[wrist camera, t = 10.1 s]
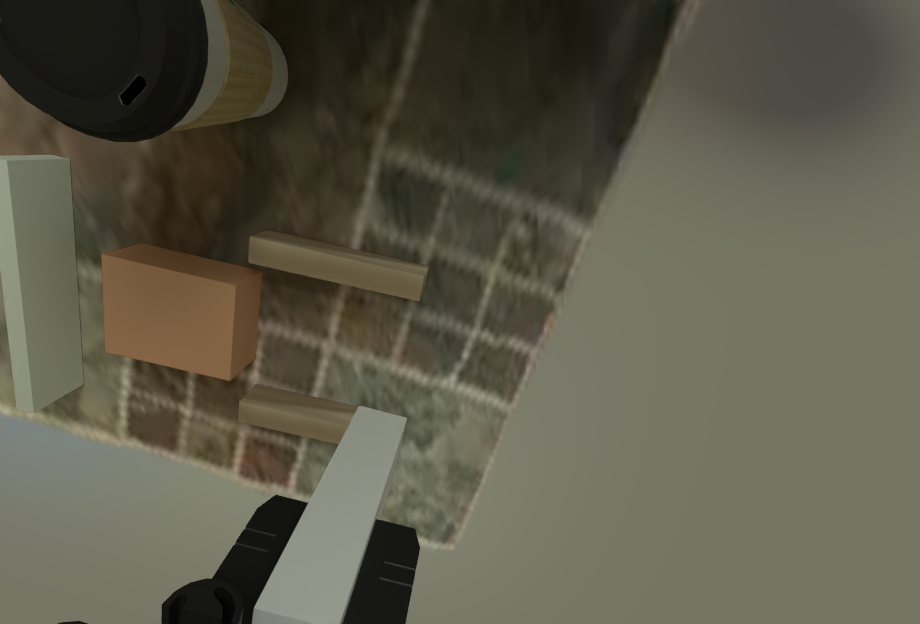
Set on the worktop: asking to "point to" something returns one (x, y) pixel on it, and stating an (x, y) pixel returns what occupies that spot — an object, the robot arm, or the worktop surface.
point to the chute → (333, 266)
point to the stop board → (40, 278)
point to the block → (180, 310)
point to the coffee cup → (140, 64)
